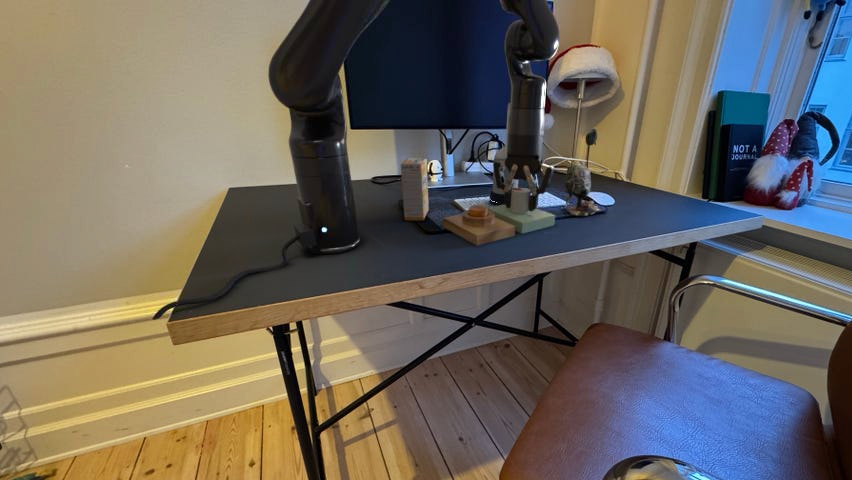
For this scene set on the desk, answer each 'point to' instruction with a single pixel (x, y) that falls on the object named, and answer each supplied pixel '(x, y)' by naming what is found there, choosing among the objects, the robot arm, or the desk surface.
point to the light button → (478, 211)
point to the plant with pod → (581, 183)
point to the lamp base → (479, 227)
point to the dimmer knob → (520, 200)
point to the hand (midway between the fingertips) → (520, 208)
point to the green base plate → (524, 218)
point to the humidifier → (501, 155)
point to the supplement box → (415, 188)
